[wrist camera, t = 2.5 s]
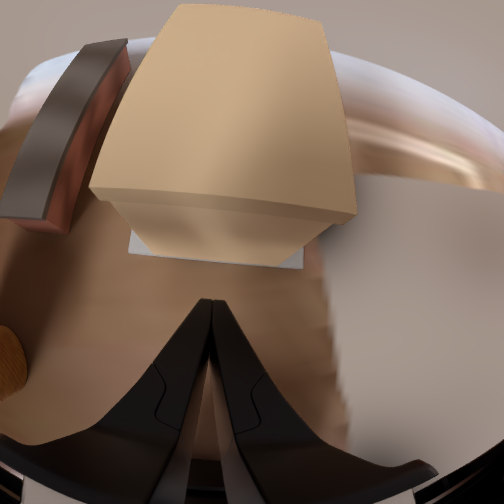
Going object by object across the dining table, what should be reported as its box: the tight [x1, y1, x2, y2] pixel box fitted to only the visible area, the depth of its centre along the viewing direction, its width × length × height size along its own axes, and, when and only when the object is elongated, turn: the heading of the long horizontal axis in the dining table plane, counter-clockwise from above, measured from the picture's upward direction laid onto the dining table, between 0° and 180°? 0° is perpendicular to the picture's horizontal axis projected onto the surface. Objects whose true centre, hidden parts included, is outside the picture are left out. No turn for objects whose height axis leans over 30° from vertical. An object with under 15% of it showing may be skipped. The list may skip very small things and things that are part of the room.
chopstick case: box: [0, 38, 131, 234], centre depth 18 cm, size 20×5×5 cm, turn 176°
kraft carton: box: [89, 4, 357, 266], centre depth 16 cm, size 14×9×11 cm, turn 176°
